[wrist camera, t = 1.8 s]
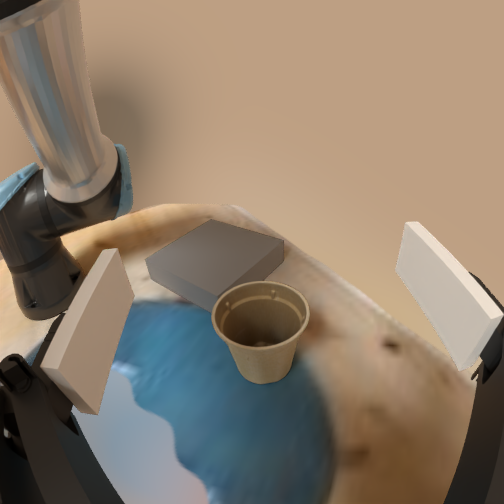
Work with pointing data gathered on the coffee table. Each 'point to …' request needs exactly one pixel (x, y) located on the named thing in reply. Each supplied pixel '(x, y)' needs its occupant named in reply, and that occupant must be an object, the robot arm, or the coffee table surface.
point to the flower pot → (261, 327)
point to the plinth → (214, 261)
